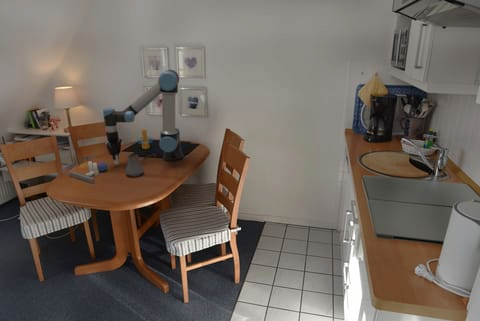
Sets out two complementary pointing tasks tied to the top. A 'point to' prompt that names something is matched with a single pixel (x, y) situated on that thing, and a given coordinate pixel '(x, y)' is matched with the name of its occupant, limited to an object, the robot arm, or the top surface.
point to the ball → (102, 166)
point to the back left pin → (95, 169)
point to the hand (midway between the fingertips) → (116, 163)
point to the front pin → (90, 174)
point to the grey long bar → (82, 177)
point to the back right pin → (90, 166)
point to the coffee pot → (135, 165)
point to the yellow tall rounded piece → (145, 140)
